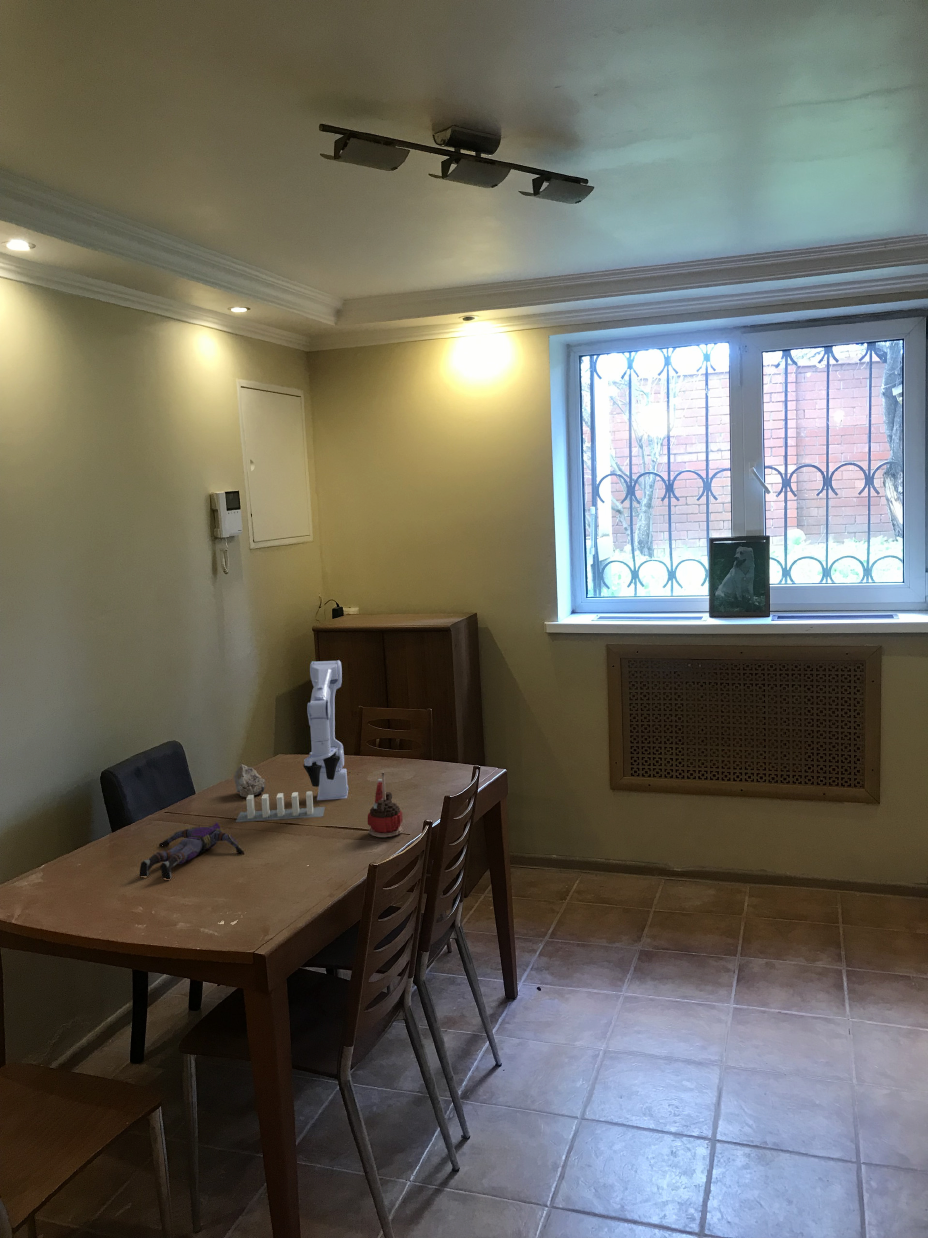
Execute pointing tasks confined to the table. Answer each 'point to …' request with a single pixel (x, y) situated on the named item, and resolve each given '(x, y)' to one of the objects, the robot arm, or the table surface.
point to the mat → (287, 815)
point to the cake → (384, 813)
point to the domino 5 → (309, 803)
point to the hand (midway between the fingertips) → (323, 782)
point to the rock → (248, 781)
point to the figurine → (187, 848)
